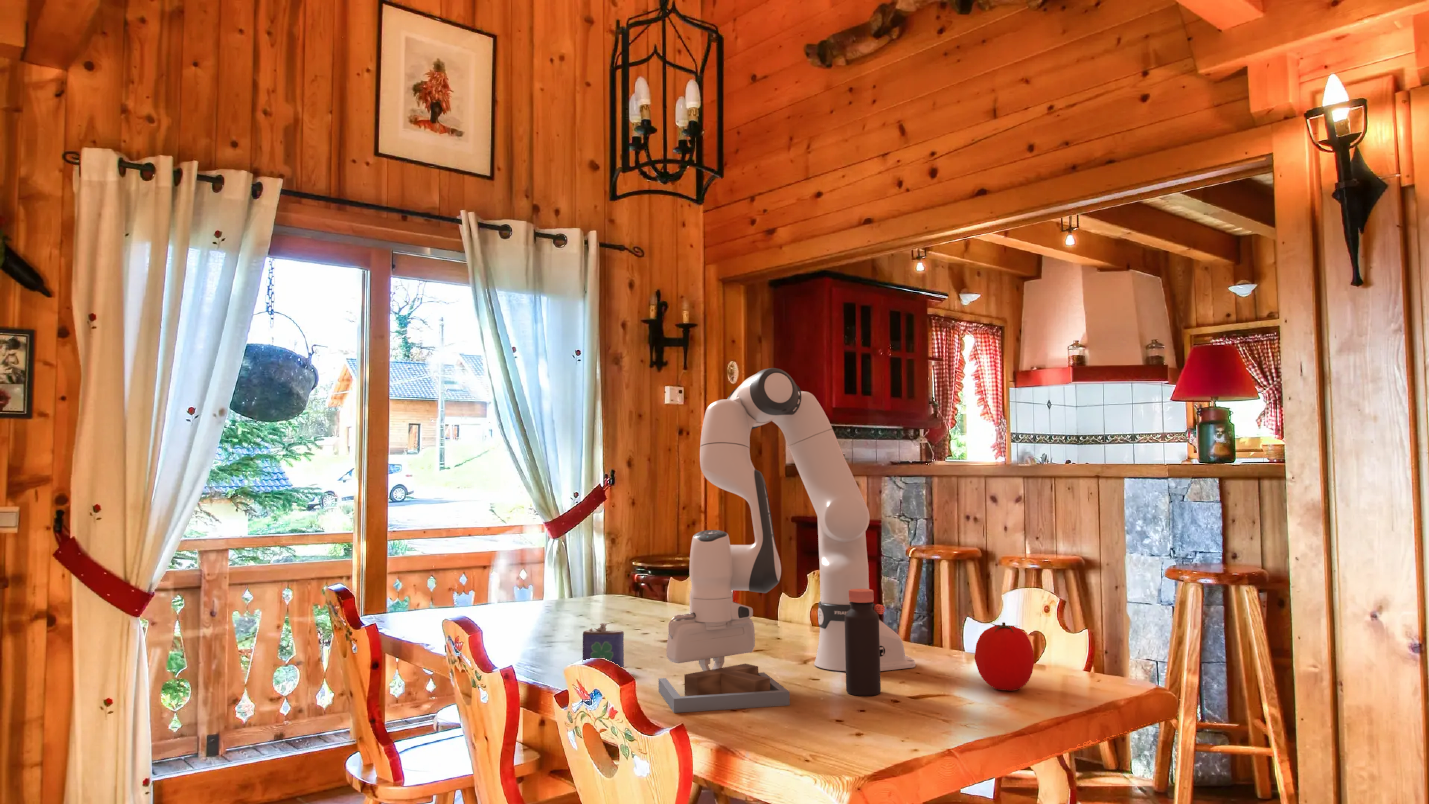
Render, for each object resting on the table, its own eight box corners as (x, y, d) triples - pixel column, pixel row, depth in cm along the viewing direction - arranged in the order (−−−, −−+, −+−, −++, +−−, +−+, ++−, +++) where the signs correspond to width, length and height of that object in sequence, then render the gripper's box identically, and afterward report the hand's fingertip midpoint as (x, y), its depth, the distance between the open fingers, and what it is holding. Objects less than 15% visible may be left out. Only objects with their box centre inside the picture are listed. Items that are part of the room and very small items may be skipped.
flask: (624, 670, 209) (624, 621, 210) (622, 673, 206) (622, 623, 207) (583, 670, 210) (583, 622, 210) (581, 673, 207) (580, 624, 207)
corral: (764, 684, 193) (764, 672, 193) (789, 705, 176) (789, 691, 176) (658, 691, 188) (658, 678, 189) (673, 712, 171) (673, 698, 171)
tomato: (1050, 691, 184) (1047, 623, 185) (1006, 699, 178) (1004, 629, 179) (1004, 680, 194) (1002, 616, 195) (961, 688, 188) (959, 621, 189)
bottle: (840, 690, 187) (838, 588, 189) (872, 687, 189) (869, 587, 191) (854, 697, 181) (851, 592, 183) (886, 695, 183) (884, 591, 184)
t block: (745, 683, 195) (745, 663, 195) (792, 694, 184) (792, 673, 184) (684, 695, 185) (684, 674, 185) (730, 708, 174) (730, 686, 174)
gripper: (677, 617, 183) (678, 690, 182) (759, 608, 195) (759, 676, 194) (660, 614, 188) (660, 684, 187) (740, 605, 200) (741, 671, 199)
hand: (711, 680), depth 190 cm, fingers closed
